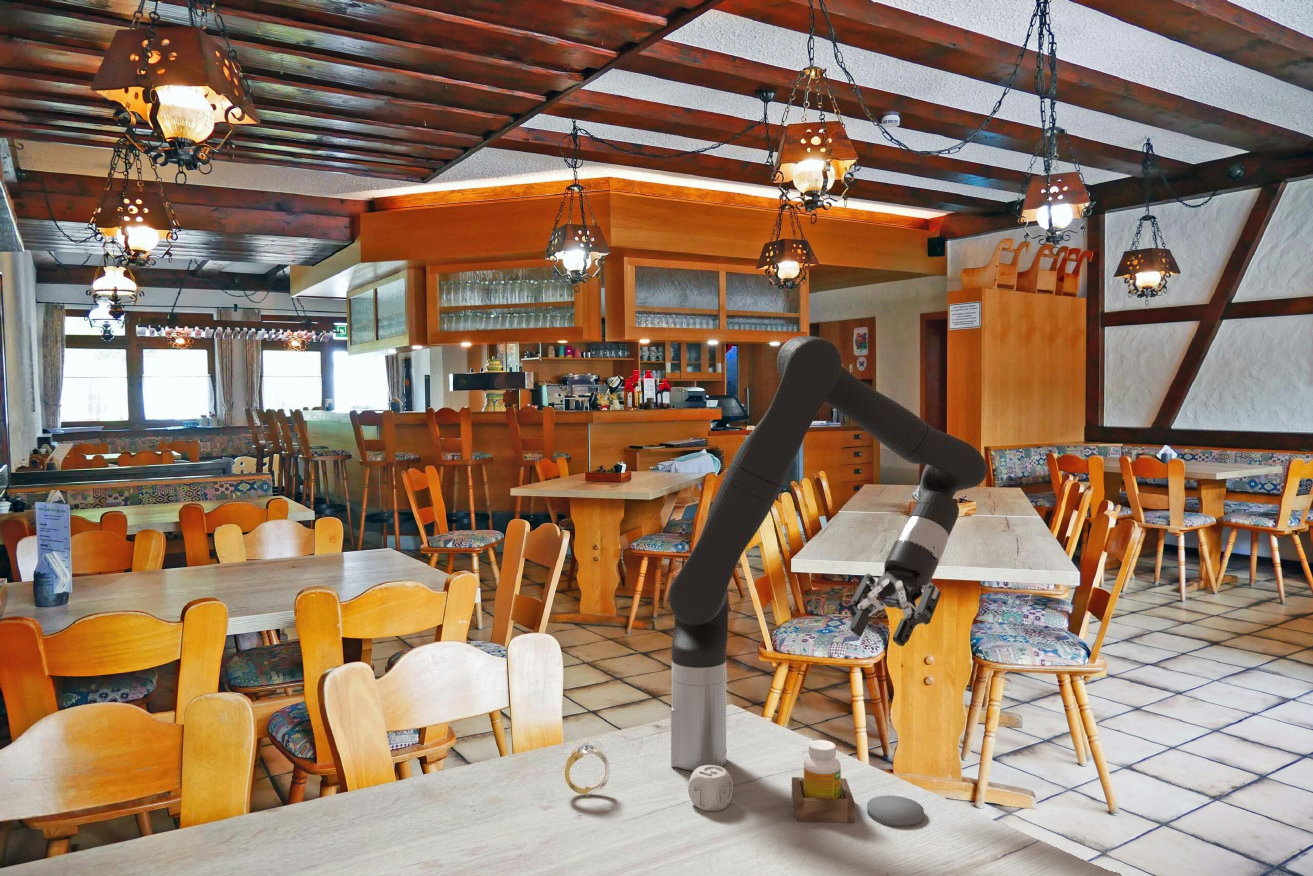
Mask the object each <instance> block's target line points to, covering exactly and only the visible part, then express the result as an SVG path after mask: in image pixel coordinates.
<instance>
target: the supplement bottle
mask: <svg viewBox="0 0 1313 876" xmlns="http://www.w3.org/2000/svg"><path fill="white" fill-rule="evenodd" d="M836 746H837V745H836V744H835V743H833V742H832V741H829V740H824V739H817V740H811V741H809V743H808V751H807V752H808V754H809V755H808V756H806V757H805V758H804V762H803V777H804V798H829V799H841V778H842V776H841V773H842V772H841V770H842V769H841V762H840V760H839V759H838V758H837V757H836V756H837V755H836V754H837V749H836V748H837V747H836Z"/></svg>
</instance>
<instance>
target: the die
mask: <svg viewBox="0 0 1313 876" xmlns="http://www.w3.org/2000/svg"><path fill="white" fill-rule="evenodd" d="M687 786H688V787H687V792H688V795H689V798H690V799H689V800H691V803H692V804H693V805H694V806H695V807H696V808H698V809H699V810H702V811H705V812H706V811H707V812H716V811H721V810H723V809H725V808H726V807H727V806H728V805H729V804H730V803H731V802H730V801H731V799H732V796H733V793H734V792H733V791H734V781H733V778H732V776H731V774H730V773H729V771H727V769H725V768H724V767H723V766H722V767H720V766H716V765H704V766H700V767H698V768H696V769H695V770H694V771H692V774H691V775H690V778H689V782H688V785H687Z"/></svg>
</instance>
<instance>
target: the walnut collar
mask: <svg viewBox="0 0 1313 876" xmlns="http://www.w3.org/2000/svg"><path fill="white" fill-rule="evenodd" d="M851 791H852V790H851V789H850V786H849V783H848V781H847V778H844V777H843V778H842V777H841V799H829V798H804V776H802V777H798V776H796V777H794V776H793V777H791V799H792V805H793V809H794V814H795V818H796V822H810V823H811V822H813V823H814V822H815V823H817V822H818V823H849V824H850V823H851V824H853V823H855V821H856V820H855V812H856V811H855V808H856V807H855V800H854V796H853V794H852V792H851Z"/></svg>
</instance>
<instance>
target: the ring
mask: <svg viewBox="0 0 1313 876" xmlns="http://www.w3.org/2000/svg"><path fill="white" fill-rule="evenodd" d="M574 748H575V749H573V751H571V752H570V754H569V756H568V757H567V758H566V759H567V760H566V762H565V766H564V779H565V782H566V784H567V786H568V787H569V788H570V789H571V790H572V791H573V792H575V793H577V794H580V795H584V796H585V797H589V796H590V795H593V794H596V793H599V792H600V791H601V790H603V788H604V787H605V786H606V785H607V783H608V781H609V779H610V775H611V766H610V760H609V759H608V757H607V755H606V754H605V753H604V752H603V751H602V750H600V749H598V748H597V744H596V743H594V744H590V742H589V741H586V742H582V744H581V745H578V746H577V745H576V746H575V747H574ZM592 754H593V755H595V756H597V757H598V758H599V759H600V760H601V761H602V763H603V764H604V768H605V772H604V776H603V777H602V778H603V779H602V780H601V781H600V782H599V783H598V784H597V785H595V786H593V787H590V786H585V787H584V788H583V787H580V786H578V785H577V784H575V783H574V782H573V781H572V779H571V776H570V770H571V768H572V766H573V765H574V764H575V763H576V762H577V761H578V760H580V759H582V758H583V757H584V756H587V755H592Z"/></svg>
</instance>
